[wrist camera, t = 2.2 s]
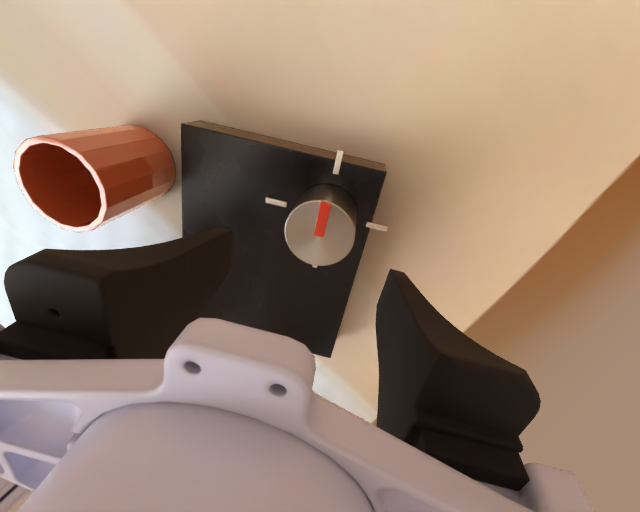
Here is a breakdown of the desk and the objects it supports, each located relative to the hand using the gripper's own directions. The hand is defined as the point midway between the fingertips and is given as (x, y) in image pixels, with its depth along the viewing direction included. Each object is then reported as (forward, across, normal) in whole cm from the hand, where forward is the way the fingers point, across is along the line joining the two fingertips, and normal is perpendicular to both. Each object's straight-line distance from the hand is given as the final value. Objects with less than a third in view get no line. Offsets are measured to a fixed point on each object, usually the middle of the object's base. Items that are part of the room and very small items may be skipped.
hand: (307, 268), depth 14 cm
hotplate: (+10, +4, +4) cm, 11 cm away
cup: (+10, +14, 0) cm, 18 cm away
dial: (+7, 0, 0) cm, 7 cm away
